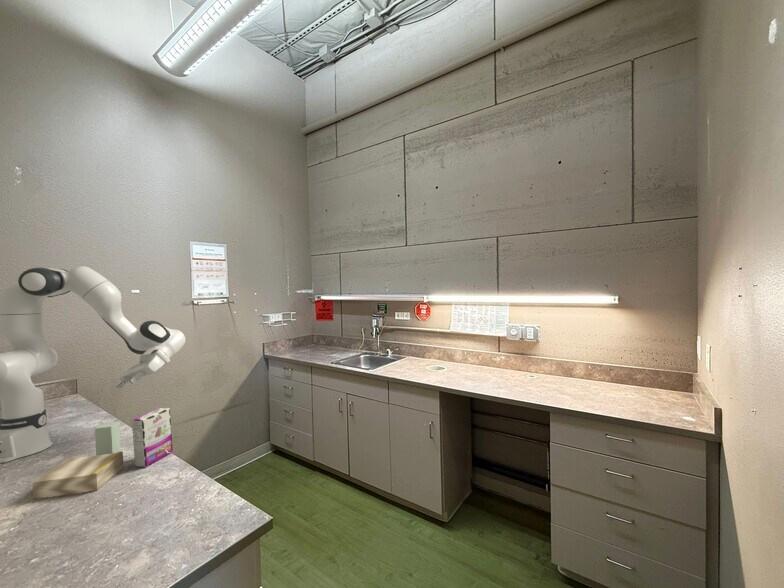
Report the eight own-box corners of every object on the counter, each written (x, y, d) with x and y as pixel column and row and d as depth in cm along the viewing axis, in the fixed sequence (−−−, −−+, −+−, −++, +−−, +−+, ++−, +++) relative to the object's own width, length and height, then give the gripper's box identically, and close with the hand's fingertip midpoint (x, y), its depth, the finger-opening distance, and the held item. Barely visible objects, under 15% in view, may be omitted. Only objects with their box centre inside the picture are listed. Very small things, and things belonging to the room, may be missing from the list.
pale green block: (96, 462, 120) (94, 428, 119) (105, 455, 124) (103, 423, 124) (112, 460, 121) (111, 426, 120) (120, 453, 126) (119, 421, 125)
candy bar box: (161, 451, 126) (159, 407, 126) (173, 452, 125) (171, 407, 125) (133, 467, 115) (130, 419, 115) (145, 468, 114) (143, 419, 114)
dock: (33, 499, 99) (32, 481, 98) (68, 473, 112) (67, 458, 112) (97, 490, 102) (96, 473, 102) (123, 466, 116) (122, 451, 116)
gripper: (133, 360, 144) (103, 384, 132) (161, 348, 136) (132, 373, 124) (144, 370, 146) (116, 395, 135) (172, 359, 138) (145, 385, 127)
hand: (124, 384), depth 129 cm, fingers open, 8 cm apart
